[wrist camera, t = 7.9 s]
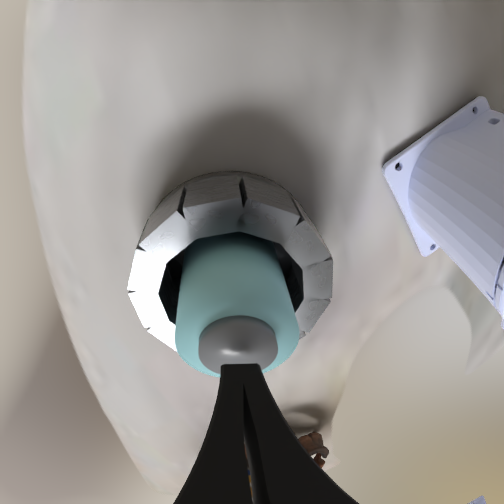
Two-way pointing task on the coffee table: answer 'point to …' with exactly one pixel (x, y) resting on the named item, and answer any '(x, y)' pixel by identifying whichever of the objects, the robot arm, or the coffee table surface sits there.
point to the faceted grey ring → (222, 222)
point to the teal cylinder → (234, 305)
